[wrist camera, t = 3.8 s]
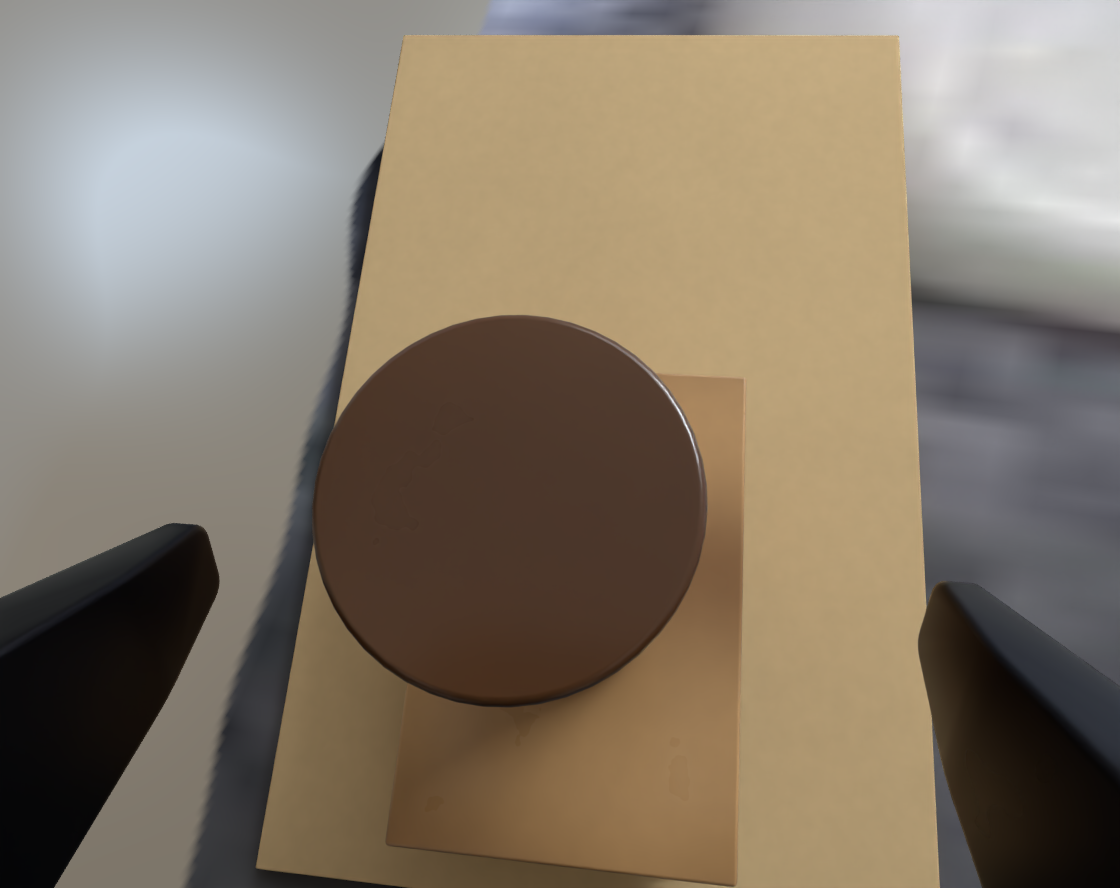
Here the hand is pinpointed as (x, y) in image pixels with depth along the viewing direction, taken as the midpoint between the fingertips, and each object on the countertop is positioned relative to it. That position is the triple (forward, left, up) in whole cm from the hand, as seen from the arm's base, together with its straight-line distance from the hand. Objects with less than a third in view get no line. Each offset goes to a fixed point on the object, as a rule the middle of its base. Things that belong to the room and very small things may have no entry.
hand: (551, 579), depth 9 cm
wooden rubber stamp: (0, 0, -8) cm, 8 cm away
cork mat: (+5, +1, -8) cm, 10 cm away
